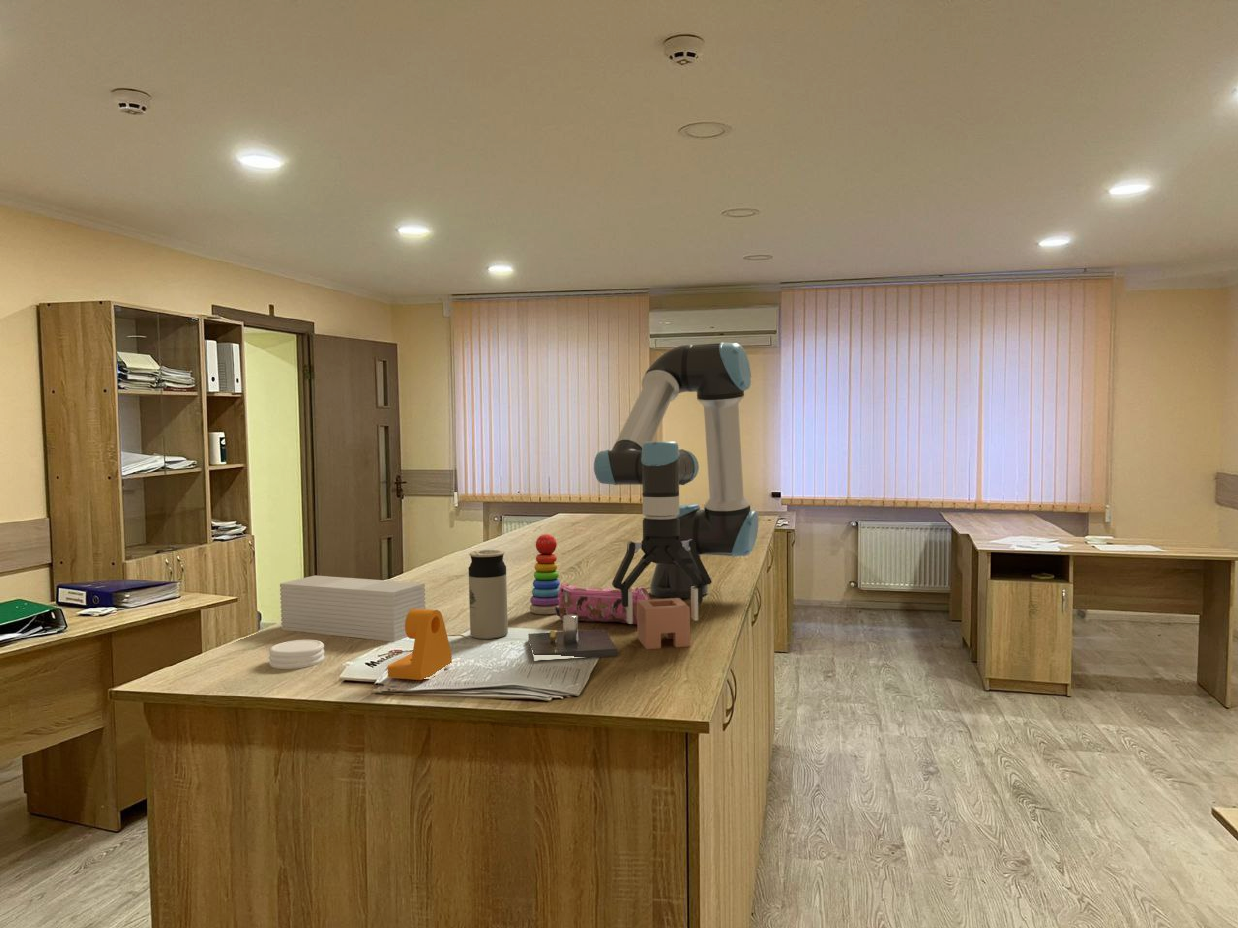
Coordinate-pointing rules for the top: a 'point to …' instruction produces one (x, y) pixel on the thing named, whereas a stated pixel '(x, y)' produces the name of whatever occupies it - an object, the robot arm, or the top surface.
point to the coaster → (296, 654)
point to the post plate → (574, 649)
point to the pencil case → (597, 603)
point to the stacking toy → (545, 577)
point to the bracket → (423, 646)
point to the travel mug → (488, 594)
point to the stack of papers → (349, 606)
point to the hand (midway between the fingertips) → (662, 620)
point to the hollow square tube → (663, 622)
